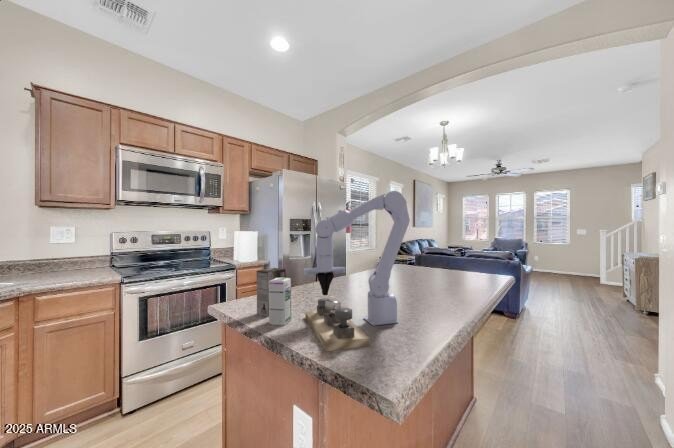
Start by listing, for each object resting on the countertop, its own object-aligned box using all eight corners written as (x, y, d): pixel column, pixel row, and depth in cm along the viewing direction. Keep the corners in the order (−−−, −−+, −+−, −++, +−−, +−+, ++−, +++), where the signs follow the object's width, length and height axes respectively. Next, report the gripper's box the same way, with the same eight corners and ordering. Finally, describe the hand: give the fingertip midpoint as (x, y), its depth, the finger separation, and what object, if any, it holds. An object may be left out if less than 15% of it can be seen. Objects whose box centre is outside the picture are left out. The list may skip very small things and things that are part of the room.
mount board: (337, 314, 100) (337, 302, 100) (369, 345, 73) (369, 328, 73) (305, 317, 96) (305, 304, 96) (326, 351, 69) (326, 333, 70)
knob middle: (338, 312, 88) (338, 298, 88) (342, 317, 83) (342, 302, 83) (323, 314, 86) (323, 299, 86) (327, 318, 82) (327, 303, 82)
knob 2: (348, 322, 78) (348, 307, 78) (354, 328, 74) (354, 311, 74) (332, 324, 77) (332, 308, 77) (337, 330, 72) (337, 313, 72)
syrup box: (285, 325, 88) (285, 280, 88) (268, 324, 89) (268, 280, 90) (291, 320, 94) (291, 277, 94) (275, 318, 95) (275, 277, 95)
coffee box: (274, 308, 108) (274, 267, 108) (286, 310, 104) (286, 268, 105) (256, 314, 100) (256, 270, 101) (268, 317, 97) (268, 271, 97)
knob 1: (329, 310, 97) (329, 297, 97) (333, 314, 93) (333, 301, 93) (316, 311, 96) (316, 298, 96) (319, 315, 91) (319, 302, 91)
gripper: (341, 253, 101) (341, 290, 100) (302, 255, 96) (302, 293, 96) (347, 255, 94) (347, 295, 94) (305, 256, 89) (306, 298, 89)
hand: (325, 294), depth 94 cm, fingers closed
